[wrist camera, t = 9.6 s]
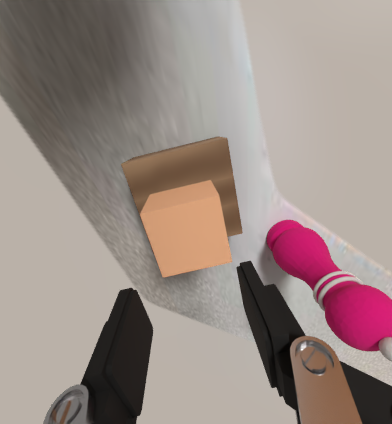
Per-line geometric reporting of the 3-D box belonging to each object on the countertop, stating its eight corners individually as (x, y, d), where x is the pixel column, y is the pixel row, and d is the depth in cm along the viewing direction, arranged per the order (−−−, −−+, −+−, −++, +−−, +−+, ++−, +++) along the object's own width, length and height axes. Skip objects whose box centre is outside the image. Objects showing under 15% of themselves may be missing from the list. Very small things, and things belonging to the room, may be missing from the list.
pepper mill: (283, 261, 36) (388, 399, 18) (254, 240, 34) (338, 370, 16) (314, 232, 34) (468, 351, 16) (286, 208, 32) (424, 312, 14)
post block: (133, 157, 28) (121, 164, 23) (218, 136, 28) (227, 138, 22) (158, 232, 33) (153, 253, 27) (232, 215, 32) (242, 233, 27)
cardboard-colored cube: (150, 194, 20) (139, 214, 15) (210, 179, 20) (219, 195, 15) (167, 246, 22) (162, 277, 17) (221, 233, 22) (232, 261, 17)
